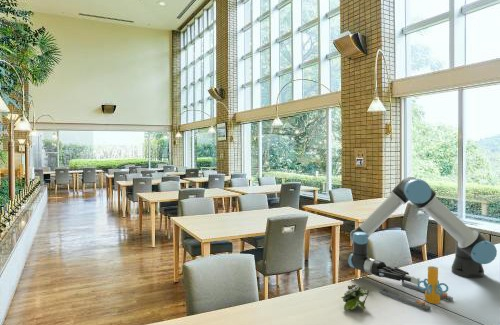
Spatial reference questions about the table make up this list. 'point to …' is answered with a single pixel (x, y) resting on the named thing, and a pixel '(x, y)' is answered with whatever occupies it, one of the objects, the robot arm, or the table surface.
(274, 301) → the table surface
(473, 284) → the table surface
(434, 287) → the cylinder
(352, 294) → the passion flower
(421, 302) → the guide track
